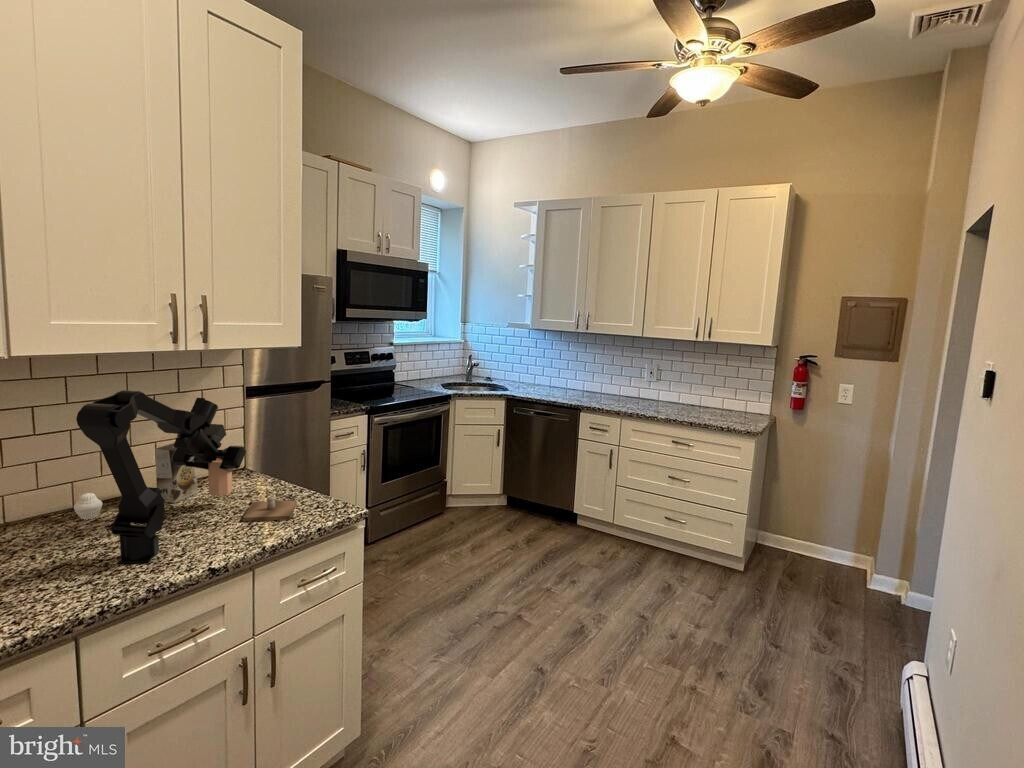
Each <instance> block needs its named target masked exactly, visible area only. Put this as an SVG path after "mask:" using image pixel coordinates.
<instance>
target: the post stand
mask: <svg viewBox="0 0 1024 768" xmlns="http://www.w3.org/2000/svg"><path fill="white" fill-rule="evenodd" d="M297 504H298V500H297V499H295V500H294V499H293V500H276V498H275V497H273V496H270V497H268V498H267V499H266V500H265V501H263V500H262V501H252V503H251V504H250V506H249V508H248V510H247V511H246V512H245V514H244V515H243V518H242V522H243V523H244V522H245V523H246V521H251V522H269V521H270V522H273V520H277V521H289V520H291V519H292V516H293V515H294V511H295V509H296V507H297V506H298V505H297ZM290 518H291V519H290Z"/></svg>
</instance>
